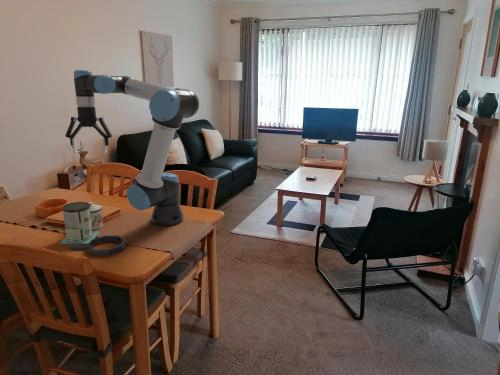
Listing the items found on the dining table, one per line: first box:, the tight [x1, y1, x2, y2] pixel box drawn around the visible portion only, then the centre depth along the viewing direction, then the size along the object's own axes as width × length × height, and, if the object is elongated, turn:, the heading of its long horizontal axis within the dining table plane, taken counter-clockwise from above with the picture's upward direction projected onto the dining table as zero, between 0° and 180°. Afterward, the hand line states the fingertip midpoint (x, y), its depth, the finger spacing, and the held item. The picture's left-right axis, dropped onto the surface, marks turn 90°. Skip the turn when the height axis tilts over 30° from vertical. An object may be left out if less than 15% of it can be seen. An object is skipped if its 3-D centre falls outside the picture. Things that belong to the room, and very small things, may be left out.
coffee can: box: [61, 201, 94, 242], centre depth 149 cm, size 10×10×14 cm
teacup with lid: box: [88, 201, 104, 231], centre depth 164 cm, size 12×9×12 cm
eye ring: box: [68, 235, 127, 257], centre depth 142 cm, size 21×14×2 cm, turn 94°
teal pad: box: [59, 231, 101, 245], centre depth 152 cm, size 12×12×1 cm
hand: (90, 152), depth 168 cm, fingers open, 13 cm apart
